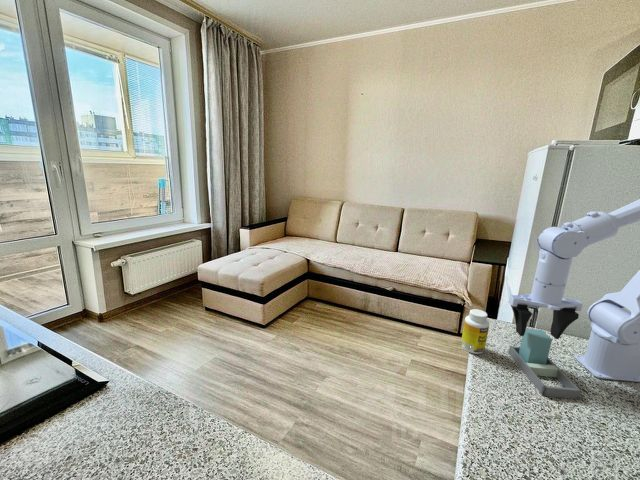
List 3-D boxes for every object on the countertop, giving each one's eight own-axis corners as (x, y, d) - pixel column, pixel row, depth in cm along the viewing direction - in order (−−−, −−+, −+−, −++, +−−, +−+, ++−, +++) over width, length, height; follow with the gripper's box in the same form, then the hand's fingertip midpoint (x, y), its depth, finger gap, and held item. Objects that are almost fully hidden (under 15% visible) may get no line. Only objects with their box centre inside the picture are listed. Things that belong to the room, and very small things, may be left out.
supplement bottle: (476, 357, 75) (483, 320, 72) (456, 346, 79) (461, 310, 77) (488, 350, 78) (495, 314, 75) (468, 340, 82) (474, 305, 80)
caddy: (538, 355, 76) (539, 348, 76) (578, 399, 62) (581, 390, 62) (508, 353, 77) (509, 346, 77) (542, 395, 63) (544, 387, 63)
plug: (535, 358, 75) (541, 330, 73) (544, 369, 71) (552, 339, 69) (517, 357, 75) (524, 328, 73) (526, 368, 72) (533, 337, 70)
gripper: (524, 285, 65) (512, 342, 68) (598, 290, 63) (582, 348, 67) (508, 274, 72) (498, 325, 75) (575, 278, 70) (561, 330, 74)
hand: (537, 335), depth 71 cm, fingers open, 7 cm apart
